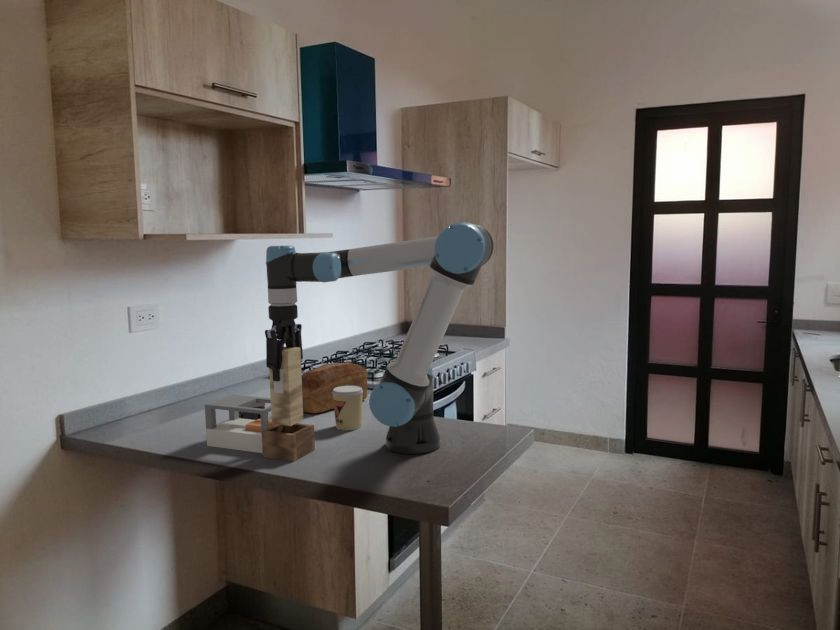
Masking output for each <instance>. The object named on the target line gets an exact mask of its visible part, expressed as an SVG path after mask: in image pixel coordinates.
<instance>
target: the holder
mask: <svg viewBox="0 0 840 630" xmlns="http://www.w3.org/2000/svg"><path fill="white" fill-rule="evenodd" d="M315 439H316V437H315V425H314V424H309V423H307V424H306V423H301V422H298V423H296V424H294V425H292V426H286V425H275V426H273V427H271V428H268V429H266V430H264V431H262V449H263V453H262V457H263V458H268V459H275V460H280V461H281V460H283V461H289V462H296V461H298V460H300V459H301V458H303V457H305V456H306V455H309V454H310V453H312V452H315V450H316V445H315V444H316V442H315Z"/></svg>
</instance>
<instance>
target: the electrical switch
mask: <svg viewBox="0 0 840 630" xmlns="http://www.w3.org/2000/svg"><path fill="white" fill-rule="evenodd" d="M245 407H250V408H260V409H265V408H266V403H263V402H256V403H253V404H250V405H248V406H245ZM239 418H242V419H250V420H257V419H261V414H257V413H248V412H239Z"/></svg>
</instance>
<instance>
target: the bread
mask: <svg viewBox="0 0 840 630" xmlns="http://www.w3.org/2000/svg"><path fill="white" fill-rule="evenodd" d="M301 375H302V399H303V413H306V414H307V413H309V414H319V413H324V412H327V411H329V410H332V409H334V401H333V394H332V391H333V389H334V388H336V387H340V386H359V387H361V388H362V390H363V399H362V401H364V400H366V399H367V397H368V376H369V375H368V370H367V369H366V368H365V367H364V366H363V365H360V364H356V363H352V362H335V363H328V364H327V363H326V364H323V365H319V366H318V367H315V368H312V369H310V370H307V371H305V372H304V373H303V374H301Z"/></svg>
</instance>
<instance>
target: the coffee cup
mask: <svg viewBox="0 0 840 630" xmlns="http://www.w3.org/2000/svg"><path fill="white" fill-rule="evenodd" d="M332 394H333V401H334V408H333V409H334V419H335V427H336V429H337V430H339V431H344V432H346V431H348V432H349V431H356V430H359V429H361V427H362V422H363V418H362V417H363V400H362V399H363V390H362V388H361V387H359V386H340V387H336V388H334V389H333V391H332Z"/></svg>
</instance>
